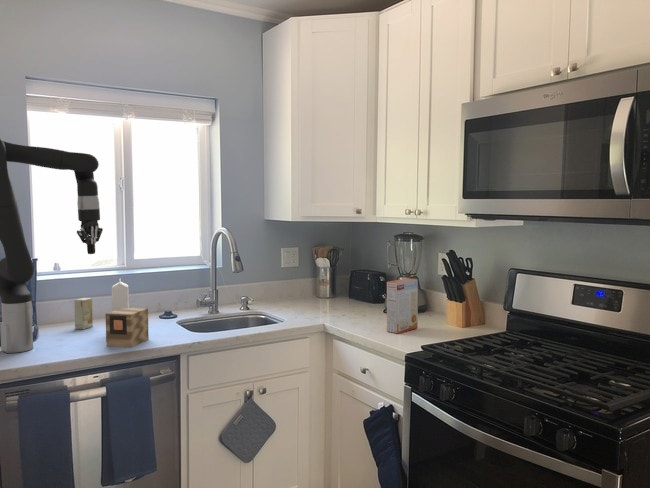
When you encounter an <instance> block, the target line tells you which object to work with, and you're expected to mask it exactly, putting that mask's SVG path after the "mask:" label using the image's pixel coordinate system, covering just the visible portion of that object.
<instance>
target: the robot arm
mask: <svg viewBox="0 0 650 488" xmlns="http://www.w3.org/2000/svg"><path fill="white" fill-rule="evenodd" d="M8 162H9V163H19V164H26V165H30V166H31V165H32V166H36V167H41V168H47V169H54V170H60V171H61V170H62V171H65V170H66V171H67V170H69V171H74V172H73V173H74V177H75V180H76V181H75V182H76V185H77V187H76V190H77V191H76V192H77V216H78V217H77V219H78V221H79V222H81V224H80V228H79V230H76V234H77V236H78V237H79V239H80V241H81V242H82V243H83V244H85V245H86V249H87V255H94V254H96V244H97V242H99V240H100V238H101V237H102V233H103V230H104V228H102V227H100V225H99V222H98V221H100V220H101V212H100V209H101V208H100V199H99V191H98V183H97V181H96V179H95V176H94V172H96V171H97V170H98V168H99V166H100V165H99V164H100V163H99V161H98V159H97V158H96V156H94V155H92V154H90V153H84V152H73V151H65V150H61V149H57V148H56V149H55V148H50V147H44V146H32V145H31V146H29V145H21V144H16V143H11V142H7V141H4V140H2V139H1V138H0V242H1V244H2V247H3V251H4V256H5V257H3V258H2V259H1V260H0V301H1V302H0V303H1V305H0V306H1V323H0V347H1V348H0V349H1V350H0V351H2V352H4V353H6V354H11V353H13V354H15V353H23V352H27V351H30V350H33V349H34V339H33V338H34V337H33V336H34V334H33V333H34V332H33V303H32V293H31V292H30V291H29V289H28V287H27V282H29V281H30V280H31V279H32V277H33V276H34V272H35V266H34V263H33V259H32V257H31V254H30V251H29V248H28V246H27V242H26V239H25V233H24V229H23V225H22V224H23V223H22V220H21V216H20V210H19V207H18V201H17V198H16V195H15V190H14V188H13V185H12V182H11V179H10V176H9V175H10V174H9V170H8Z"/></svg>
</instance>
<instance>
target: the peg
mask: <svg viewBox="0 0 650 488" xmlns="http://www.w3.org/2000/svg"><path fill="white" fill-rule="evenodd" d="M114 330H124V323H123V319H115V320H114Z"/></svg>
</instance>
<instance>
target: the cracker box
mask: <svg viewBox="0 0 650 488" xmlns="http://www.w3.org/2000/svg"><path fill="white" fill-rule="evenodd" d="M418 281H419V280H418V279H417V278H411V277H408V278H407V277H406V278H401V279H395V280H390V281H386V332H387V331H388V332H387V333H391V332H392V333H391V334H396V333H397V334H398V333H399V334H402V333H405V332H408V331H412V330H416V329H418V326H419V325H418V324H419V323H418V320H419V319H418V317H419V316H418V315H419V313H418V312H419V311H418V310H419V309H418V308H419V306H418V305H419V304H418V299H419V298H418V297H419V296H418V295H419V291H418V285H419V283H418Z"/></svg>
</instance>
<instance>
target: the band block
mask: <svg viewBox="0 0 650 488" xmlns="http://www.w3.org/2000/svg"><path fill="white" fill-rule="evenodd" d="M115 319H123V323H124V330H114V320H115ZM149 338H150V337H149V308H146V307H143V308H142V307H129V308H127V307H124V308H121V309H118V310H115V311H112V310H111V311H109V312H106V313H105V343H106V345H105V346H106V347H115V348H117V347H118V348H134V347H135V346H138V345H139V344H142V343H145V342H146V341H149Z"/></svg>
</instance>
